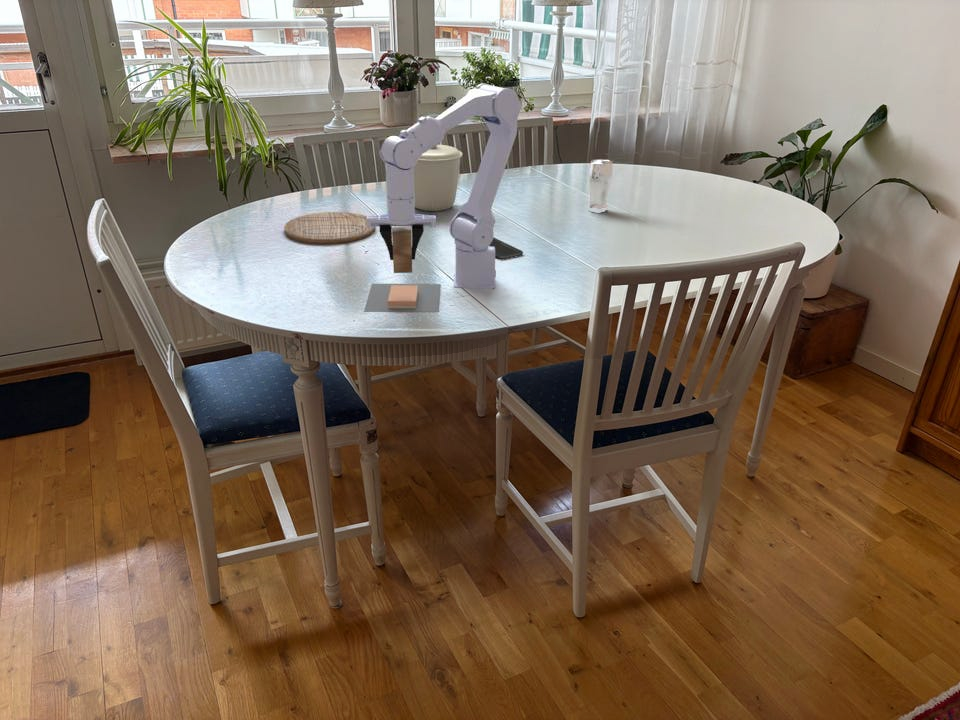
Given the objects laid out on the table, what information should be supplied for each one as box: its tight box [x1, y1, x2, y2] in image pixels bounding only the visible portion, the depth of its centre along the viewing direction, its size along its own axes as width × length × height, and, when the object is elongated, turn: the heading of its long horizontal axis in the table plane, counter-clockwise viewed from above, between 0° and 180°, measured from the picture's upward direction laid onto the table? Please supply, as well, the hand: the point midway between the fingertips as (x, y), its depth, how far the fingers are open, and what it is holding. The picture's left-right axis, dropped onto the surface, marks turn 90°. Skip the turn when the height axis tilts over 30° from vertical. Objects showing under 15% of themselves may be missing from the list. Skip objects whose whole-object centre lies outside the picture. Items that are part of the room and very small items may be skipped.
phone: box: [489, 236, 524, 261], centre depth 195 cm, size 8×1×15 cm
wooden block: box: [392, 226, 413, 274], centre depth 159 cm, size 4×4×9 cm
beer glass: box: [587, 158, 614, 209], centre depth 226 cm, size 7×7×15 cm
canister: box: [414, 144, 463, 212], centre depth 225 cm, size 18×18×21 cm
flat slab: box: [388, 285, 418, 308], centre depth 163 cm, size 6×2×9 cm
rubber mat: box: [363, 283, 442, 313], centre depth 165 cm, size 16×16×1 cm
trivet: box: [283, 211, 376, 245], centre depth 207 cm, size 25×25×2 cm
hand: (402, 258), depth 160 cm, fingers closed on wooden block, 4 cm apart
